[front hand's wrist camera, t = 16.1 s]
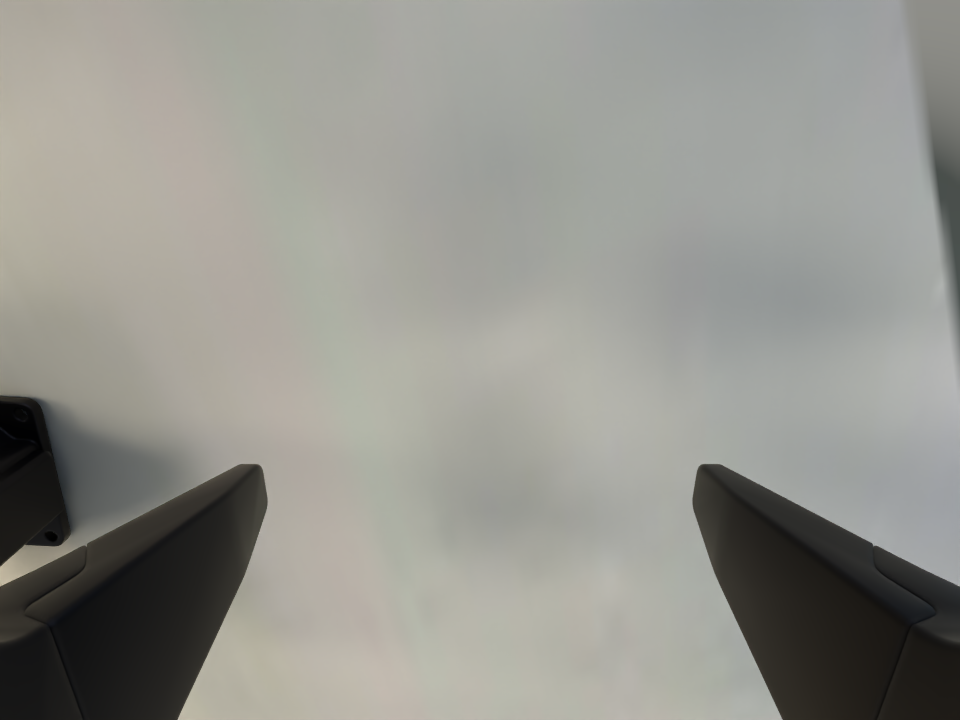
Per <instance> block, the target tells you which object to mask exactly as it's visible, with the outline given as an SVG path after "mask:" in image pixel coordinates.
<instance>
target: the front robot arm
mask: <svg viewBox="0 0 960 720" xmlns="http://www.w3.org/2000/svg"><path fill="white" fill-rule="evenodd" d="M22 409H23V410H24V411H26V413H27V415H26V414H25V413H23V411H22ZM266 509H267V493H266V487H265V480H264V474H263V470H262V468H261V466H260V465H258V464H240V465H237V466H236V467H234V468H232V469H230V470H228V471H226V472H224V473H222V474H220V475H218V476H216V477H214V478H213V479H211V480H209V481H207V482H205V483H203V484H201V485H199V486H197V487H195V488H193V489H191V490H189V491H188V492H186V493H184V494H182V495H180V496H178V497H176V498H174V499H172V500H170V501H168V502H166V503H165V504H163V505H161V506H159V507H157V508H155V509H153V510H151V511H149V512H147V513H145V514H143V515H141V516H140V517H138V518H136V519H134V520H132V521H130V522H128V523H126V524H124V525H122V526H120V527H118V528H117V529H115V530H113V531H111V532H109V533H107V534H105V535H103V536H101V537H99V538H97V539H95V540H93V541H92V542H90V543H88V544H87V547H86V546H82V547H80V548H78V549H76V550H74V551H72V552H70V553H68V554H66V555H64V556H62V557H61V558H59V559H57V560H55V561H53V562H51V563H49V564H47V565H45V566H43V567H41V568H39V569H37V570H35V571H32V572H30V573H28V574H26V575H24V576H22V577H20V578H18V579H15V580H13V581H11V582H9V583H7V584H5V585H3V586H1V587H0V720H177V719H178V717H179V715H180V713H181V711H182V708H183V706H184V704H185V702H186V700H187V698H188V696H189V693H190V691H191V689H192V687H193V685H194V683H195V681H196V678H197V676H198V674H199V672H200V670H201V668H202V666H203V663H204V661H205V659H206V657H207V655H208V653H209V651H210V648H211V646H212V644H213V642H214V640H215V638H216V636H217V633H218V631H219V629H220V627H221V625H222V623H223V621H224V618H225V616H226V614H227V612H228V610H229V608H230V605H231V603H232V601H233V599H234V597H235V595H236V593H237V590H238V588H239V586H240V584H241V582H242V579H243V577H244V575H245V572H246V570H247V567H248V564H249V561H250V558H251V555H252V552H253V549H254V546H255V543H256V540H257V537H258V534H259V531H260V528H261V525H262V522H263V519H264V516H265V513H266ZM693 509H694V513H695V516H696V519H697V522H698V525H699V528H700V531H701V534H702V537H703V540H704V543H705V546H706V549H707V552H708V555H709V558H710V561H711V564H712V567H713V570H714V572H715V575H716V577H717V579H718V582H719V584H720V586H721V588H722V590H723V593H724V595H725V597H726V599H727V601H728V603H729V605H730V608H731V610H732V612H733V614H734V616H735V618H736V621H737V623H738V625H739V627H740V629H741V631H742V633H743V636H744V638H745V640H746V642H747V644H748V646H749V648H750V651H751V653H752V655H753V657H754V659H755V661H756V663H757V666H758V668H759V670H760V672H761V674H762V676H763V678H764V681H765V683H766V685H767V687H768V689H769V691H770V693H771V696H772V698H773V700H774V702H775V704H776V706H777V708H778V711H779V713H780V715H781V717H782V719H783V720H960V587H959V586H957V585H955V584H953V583H951V582H949V581H947V580H945V579H942V578H940V577H938V576H936V575H934V574H932V573H930V572H928V571H925V570H923V569H921V568H919V567H917V566H915V565H913V564H911V563H909V562H907V561H905V560H903V559H901V558H899V557H898V556H896V555H894V554H892V553H890V552H888V551H886V550H884V549H882V548H880V547H878V546H874V547H873V544H872V543H870V542H869V541H867V540H865V539H863V538H861V537H859V536H857V535H855V534H853V533H851V532H849V531H847V530H845V529H844V528H842V527H840V526H838V525H836V524H834V523H832V522H830V521H828V520H826V519H824V518H822V517H820V516H819V515H817V514H815V513H813V512H811V511H809V510H807V509H805V508H803V507H801V506H799V505H797V504H795V503H794V502H792V501H790V500H788V499H786V498H784V497H782V496H780V495H778V494H776V493H774V492H772V491H771V490H769V489H767V488H765V487H763V486H761V485H759V484H757V483H755V482H753V481H751V480H749V479H747V478H746V477H744V476H742V475H740V474H738V473H736V472H734V471H732V470H730V469H728V468H726V467H724V466H723V465H720V464H702V465H700V466H699V468H698V470H697V474H696V481H695V487H694V493H693ZM70 532H71V531H70V526H69V522H68V518H67V514H66V509H65V505H64V501H63V497H62V492H61V488H60V484H59V480H58V475H57V471H56V467H55V463H54V458H53V454H52V450H51V446H50V441H49V437H48V433H47V429H46V425H45V420H44V416H43V412H42V409H41V407H40V405H39V404H38V403H37V402H35V401H34V400H32V399H29V398H20V397H4V396H0V566H1V565H2V564H4V563H5V562H6V561H7V560H8V559H9V558H10V557H11V556H13V555H14V554H15V553H16V552H17V551H18V550H19V549H20V548H22V547H23V546H24V545H38V546H59V545H61V544H62V543H63V542H64V541H65V540H66V539H68V538H69V536H70ZM55 533H56V534H55Z"/></svg>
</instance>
